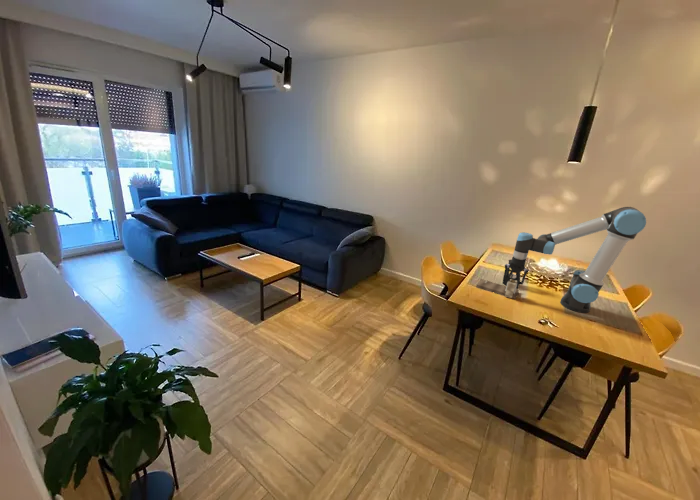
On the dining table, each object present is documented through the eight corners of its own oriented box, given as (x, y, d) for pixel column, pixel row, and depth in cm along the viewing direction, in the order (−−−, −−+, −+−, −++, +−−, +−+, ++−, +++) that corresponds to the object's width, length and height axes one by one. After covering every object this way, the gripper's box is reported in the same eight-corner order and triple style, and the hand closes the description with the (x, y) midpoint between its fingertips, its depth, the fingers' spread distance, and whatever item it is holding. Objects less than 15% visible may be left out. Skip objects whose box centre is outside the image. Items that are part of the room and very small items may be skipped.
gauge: (513, 293, 197) (517, 279, 193) (511, 298, 191) (515, 283, 187) (506, 291, 199) (510, 277, 195) (504, 296, 193) (508, 281, 189)
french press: (510, 280, 218) (518, 250, 210) (521, 286, 210) (529, 255, 202) (497, 281, 214) (505, 251, 206) (507, 288, 206) (516, 256, 198)
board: (518, 292, 200) (518, 289, 200) (515, 299, 191) (516, 296, 190) (480, 281, 213) (480, 278, 212) (475, 287, 204) (476, 284, 203)
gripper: (535, 259, 184) (525, 293, 192) (505, 252, 193) (497, 285, 201) (534, 263, 178) (524, 298, 186) (503, 255, 187) (494, 289, 195)
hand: (510, 291), depth 194 cm, fingers closed on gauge, 4 cm apart
